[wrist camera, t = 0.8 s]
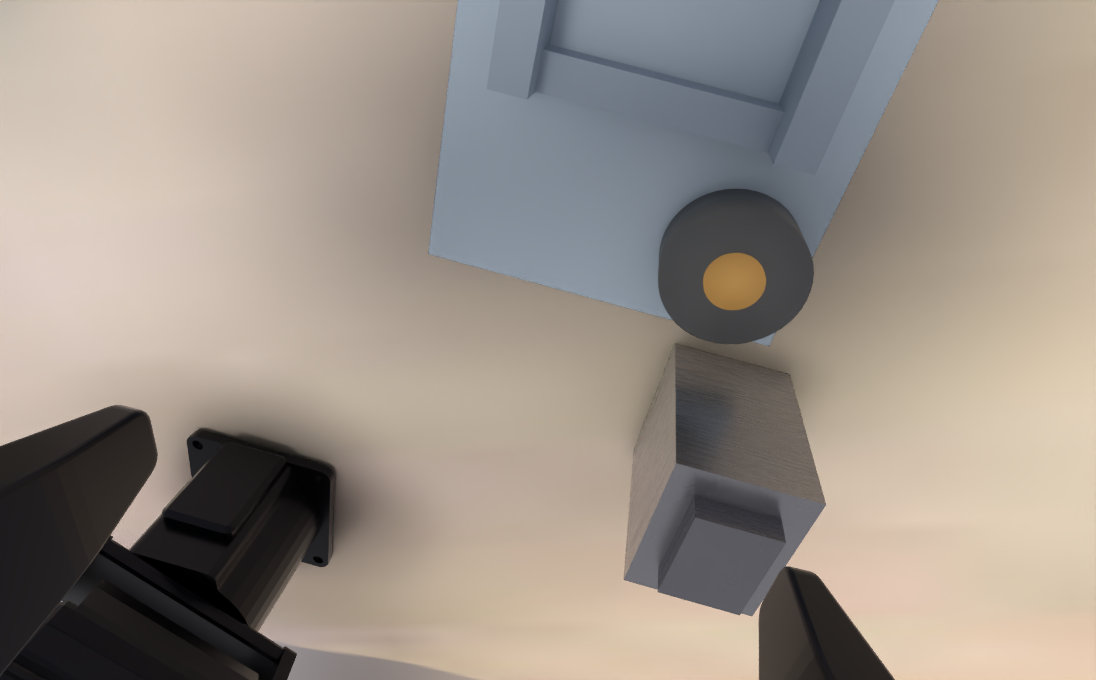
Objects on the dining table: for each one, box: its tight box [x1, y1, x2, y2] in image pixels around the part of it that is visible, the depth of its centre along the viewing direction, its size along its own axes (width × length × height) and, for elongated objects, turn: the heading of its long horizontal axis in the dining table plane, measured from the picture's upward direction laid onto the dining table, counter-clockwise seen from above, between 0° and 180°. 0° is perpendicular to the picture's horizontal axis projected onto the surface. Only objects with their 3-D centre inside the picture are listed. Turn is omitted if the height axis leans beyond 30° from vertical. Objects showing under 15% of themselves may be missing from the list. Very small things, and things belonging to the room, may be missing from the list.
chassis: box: [428, 0, 939, 346], centre depth 15 cm, size 15×11×3 cm
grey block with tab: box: [624, 344, 826, 616], centre depth 20 cm, size 5×4×7 cm
